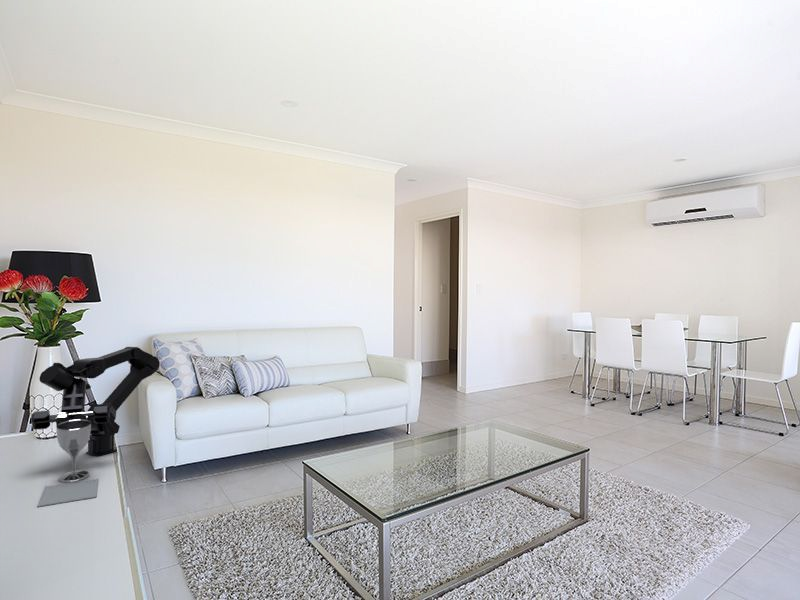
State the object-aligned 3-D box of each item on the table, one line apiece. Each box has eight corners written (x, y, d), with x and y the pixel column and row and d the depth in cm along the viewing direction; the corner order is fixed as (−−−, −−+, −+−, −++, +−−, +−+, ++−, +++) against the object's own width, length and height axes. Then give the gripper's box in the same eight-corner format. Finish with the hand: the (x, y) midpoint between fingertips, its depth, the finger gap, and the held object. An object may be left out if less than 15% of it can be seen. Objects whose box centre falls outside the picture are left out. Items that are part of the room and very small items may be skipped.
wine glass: (50, 477, 132) (50, 425, 131) (80, 467, 139) (80, 417, 138) (66, 485, 129) (66, 432, 127) (96, 474, 136) (97, 423, 134)
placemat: (45, 487, 127) (45, 486, 127) (98, 479, 133) (98, 478, 133) (37, 507, 115) (37, 506, 115) (96, 497, 121) (96, 496, 121)
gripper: (110, 408, 155) (108, 452, 145) (38, 414, 145) (31, 462, 136) (110, 388, 148) (108, 433, 138) (34, 393, 138) (27, 442, 129)
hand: (69, 443), depth 135 cm, fingers closed
